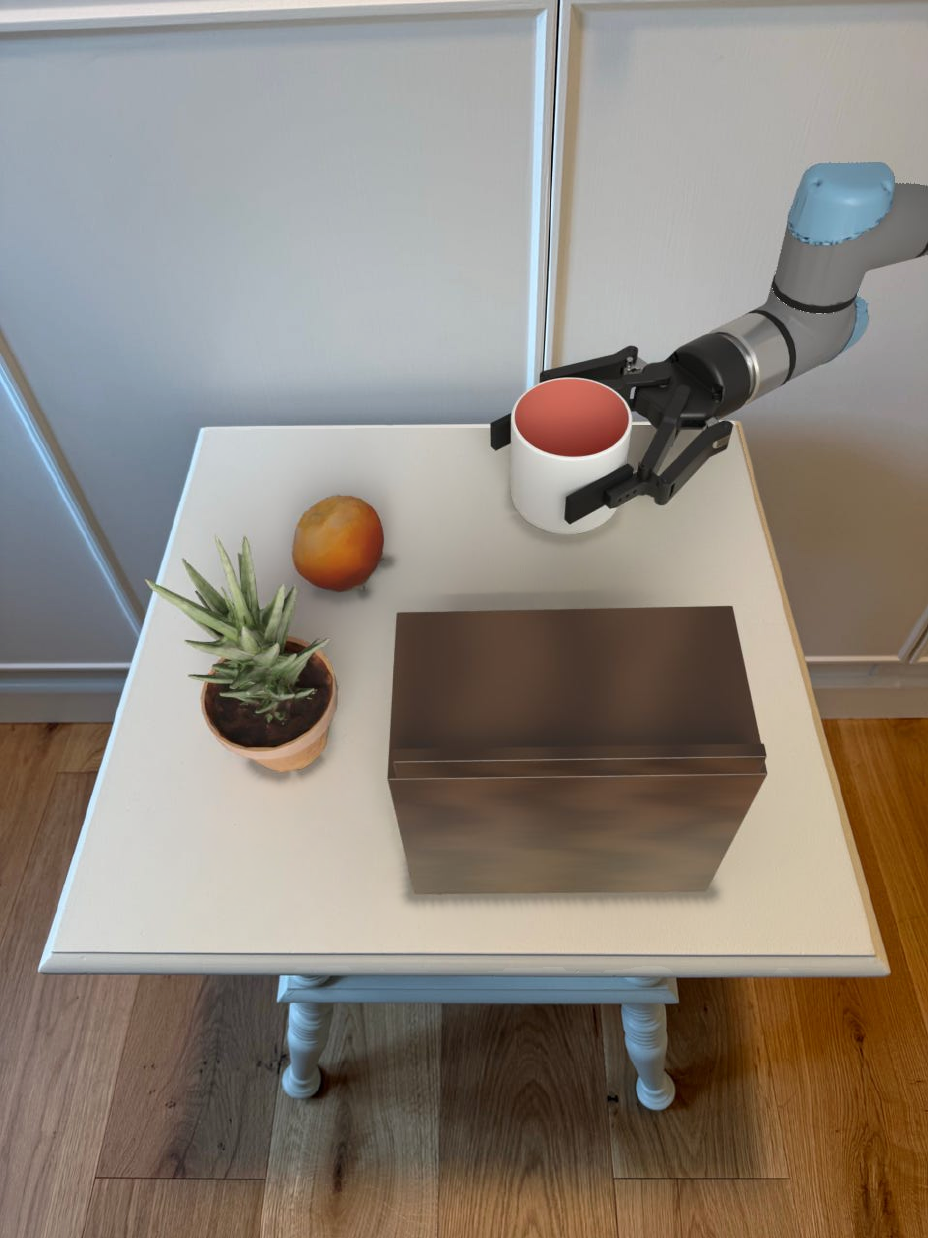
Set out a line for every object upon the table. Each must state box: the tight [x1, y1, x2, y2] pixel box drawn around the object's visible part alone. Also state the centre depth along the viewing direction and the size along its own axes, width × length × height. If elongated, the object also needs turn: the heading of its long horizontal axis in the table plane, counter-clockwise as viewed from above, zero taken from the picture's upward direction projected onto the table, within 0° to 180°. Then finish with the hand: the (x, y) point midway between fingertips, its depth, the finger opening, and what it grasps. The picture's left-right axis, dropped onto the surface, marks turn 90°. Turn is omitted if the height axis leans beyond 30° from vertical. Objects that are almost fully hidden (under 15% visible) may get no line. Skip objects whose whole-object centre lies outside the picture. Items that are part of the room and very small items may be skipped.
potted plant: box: [144, 533, 339, 773], centre depth 61 cm, size 10×10×25 cm
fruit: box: [291, 494, 389, 593], centre depth 78 cm, size 8×8×8 cm
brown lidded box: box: [386, 605, 768, 895], centre depth 58 cm, size 20×11×20 cm, turn 90°
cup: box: [510, 378, 633, 535], centre depth 80 cm, size 10×10×10 cm
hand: (529, 472), depth 78 cm, fingers closed on cup, 10 cm apart
